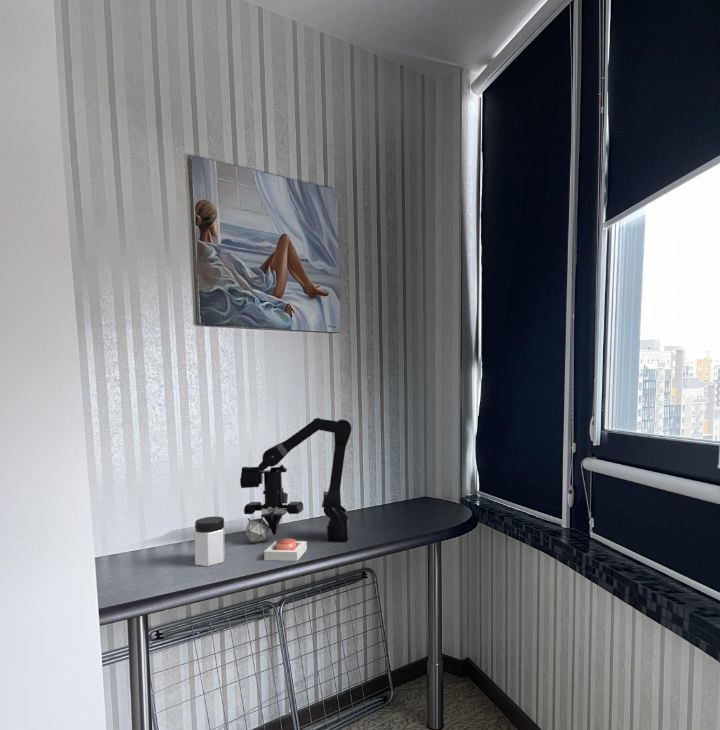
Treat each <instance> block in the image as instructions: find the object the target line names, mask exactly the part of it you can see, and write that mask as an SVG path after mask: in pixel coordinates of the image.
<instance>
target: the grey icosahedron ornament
mask: <svg viewBox="0 0 720 730" xmlns="http://www.w3.org/2000/svg"><path fill="white" fill-rule="evenodd" d="M263 518H264V517H260V518H256V519H255V518H254V519H250V518H247V520H248V524H247V525H246V528H245V530H244V532H243V533H242V534H243V535H246V537H247V538H248V539H249V540H250V546H251V545H254V543H257V542H263V541H264V542H267V539H266V538H267V535H268V533H269V530H270V527H269V525H268V523H267V522H266V520H265V519H263Z"/></svg>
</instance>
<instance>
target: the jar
mask: <svg viewBox="0 0 720 730" xmlns="http://www.w3.org/2000/svg"><path fill="white" fill-rule="evenodd" d="M194 528H195V532H194V564H195V566H199V565H201V566H202V567H211V566H210V565H212V566H215V565H219V564H223V563H224V560H225V558H226V554H225V552H226V551H225V548H226V547H225V543H226V542H225V541H226V540H224V539H225V518H224V517H222V516H207V517H202V518H198V519H197V520H195V522H194ZM222 562H223V563H222ZM218 563H219V564H218ZM214 564H215V565H214ZM201 566H200V567H201Z"/></svg>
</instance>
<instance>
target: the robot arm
mask: <svg viewBox="0 0 720 730" xmlns="http://www.w3.org/2000/svg"><path fill="white" fill-rule="evenodd" d="M318 431H321V432H322V431H323V432H327V433H328V432H329V433H332V434H333V433H334V434H333V436H334V437H333V438H334V451H333V458H332V466H331V472H330V480H329V486H328V490H327V491H324V490H323V494H322V495H323V499H322V502H321V508H323V514H324V515H325V516H326V517H328V518H329V520H328V524H327V525H326V531H327V532H326V533H327V535H326V536H327V537H326V538H327V542H334V543H335V542H339V543H340V542H343V543H344V542H345V543H346V542H348V541H349V539H350V538H351V534H350V522H349V521H350V519H349V516H348V515H349V514H348V511H347V509H346V508H345V507H344V506H343V505H342V498H341V495H342V494H341V485H342V477H343V469H344V463H345V462H344V461H345V453H346V449H347V448H346V447H347V444H348V442H349V440H350V436H351V433H352V424H351V423H350V422H349V421H348V420H347V419H344V418H342V419H341V418H340V419H338V420H332V419H324V418H321V417H316V418H314V419H312V421H310V422H309V423H308V424H307V425H305V426H304V427H302V428H301V429H300V430H298V431H297V432H296V433H293V434H292V435H291V436H290V437H288V438H286V439H285V440H284V441H282V442H280V443H277V444H275V445H273V446H271V447H269V448H267V450H264V452H263V454H262V461H260V463H259V464H258V466H242V467H241V473H240V478H239V484H240V488H241V489H249V488H259V487H260V485H262V484H264V485H263V486H264V489H263V491H262V493H263V495H264V503H263V504H262V503H261V501H250V502H249V503H247V504H245V505H244V506H243V507H244V508H243V514H244V515H254V513H256V512H257V511H258V512H261V514H260V518H262V517H263V518H264V521H265V522H266V523H267V525H268V526H269V527H270V528H269V530H270V531H271V533H272V535H273V536H274V535H277V532H278V529H279V525H280V523H281V522H280V521H281V519H282V517H283V516H284V515H286V514H288V515H298V514H300V513H301V512H302V511H304V503H303V502H302V501H290V502H289V503H288V499H289V498H288V496H289V493H287V492H285V491H284V487H283V483H282V481H283V480H282V473H287V471H288V468H286V467H285V466H284V465H283V464H280V466H277V465H278V464H279V463H280V462H281V461H282V460H283V459H284V458H285V457H286V456H287V455H288V454H289V453H290V452H291V450H293V449H295V448H296V447H297V446H299V445H301V444H302V442H304V441H305V440H307V439H309V438H310V437H311V436H312V435H314V434H315V433H317V432H318ZM269 467H270V469H269V470H268V469H267V468H269Z"/></svg>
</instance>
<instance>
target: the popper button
mask: <svg viewBox="0 0 720 730" xmlns="http://www.w3.org/2000/svg"><path fill="white" fill-rule="evenodd" d="M275 541H276V550H294V549H295V548H296V541H297V540H296V539H294V538H289V537H287V538H286V537H285V538H281V539H278V540H275Z"/></svg>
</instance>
